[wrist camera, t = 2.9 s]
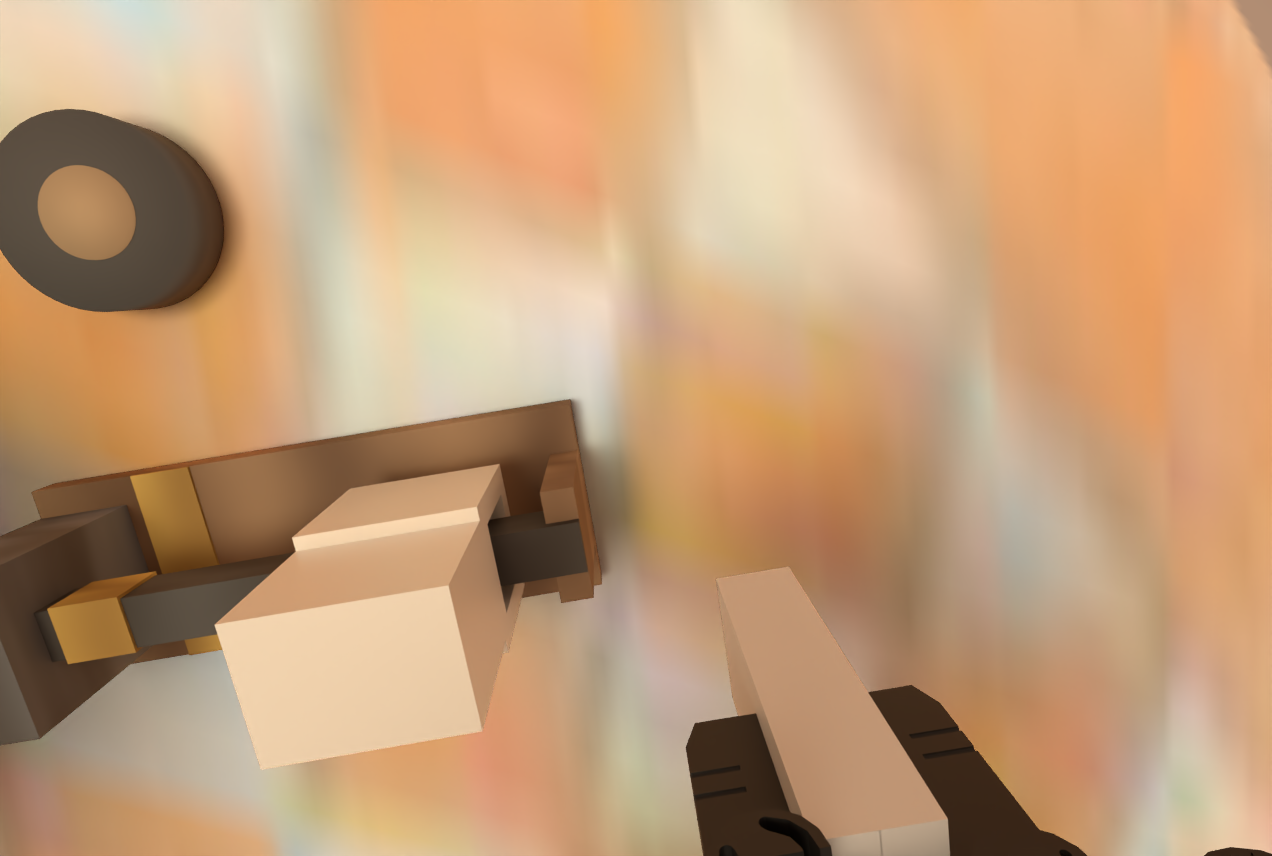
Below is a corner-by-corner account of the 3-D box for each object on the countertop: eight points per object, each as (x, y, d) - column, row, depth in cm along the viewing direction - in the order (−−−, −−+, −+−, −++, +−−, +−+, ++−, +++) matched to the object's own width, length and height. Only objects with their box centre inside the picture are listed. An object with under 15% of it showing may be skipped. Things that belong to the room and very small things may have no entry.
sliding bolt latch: (115, 655, 26) (-54, 787, 19) (53, 483, 25) (-154, 561, 18) (601, 573, 27) (603, 673, 20) (570, 399, 25) (560, 443, 18)
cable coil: (72, 321, 24) (22, 325, 22) (10, 139, 22) (-49, 124, 20) (244, 294, 24) (211, 295, 22) (193, 110, 22) (153, 94, 20)
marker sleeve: (381, 608, 24) (265, 784, 15) (350, 488, 23) (209, 607, 14) (524, 584, 24) (486, 746, 15) (499, 464, 23) (444, 568, 14)
